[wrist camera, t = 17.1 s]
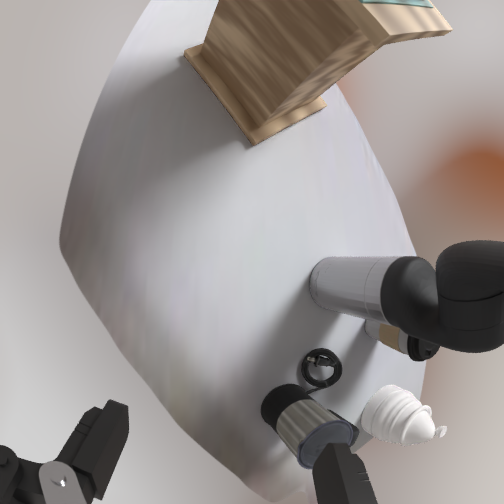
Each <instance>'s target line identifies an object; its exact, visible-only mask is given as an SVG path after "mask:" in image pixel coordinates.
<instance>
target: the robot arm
mask: <svg viewBox="0 0 504 504" xmlns="http://www.w3.org/2000/svg"><path fill="white" fill-rule="evenodd" d="M310 291H311V295H312V297H313V299H314V301H315V302H316V303H317V304H318V305H319V306H321V307H323V308H326V309H329V310H333V311H336V312H340V313H344V314H348V315H351V316H355V317H359V318H363V319H366V320H370V321H374V322H378V323H382V324H386V325H390V326H394V327H398V328H400V329H401V330H402V331H403V332H404V333H405V334H407V335H409V336H412V337H415V338H418V339H421V340H424V341H427V342H430V343H433V344H436V345H439V346H442V347H445V348H448V349H452V350H455V351H460V352H467V353H481V352H486V351H491V350H493V349H496V348H498V347H499V346H501V345H502V344H504V242H500V241H486V240H484V241H483V240H476V241H466V242H461V243H457V244H454V245H452V246H449V247H448V248H446V249H445V250H444V251H443V252H442V253H441V254H440V255H439V257H438V259H437V262H436V272H435V270H434V269H433V267H432V266H431V264H430V263H429V262H427V261H426V260H425V259H423V258H420V257H415V256H403V257H328V258H325V259H323V260H321V261H320V262H319V263H318V264H317V265H316V266H315V268H314V270H313V271H312V274H311V277H310ZM128 433H129V416H128V406H127V405H124V404H122V403H119V402H116V401H113V400H108V402H107V403H106V405H105V407H104V408H103V410H102V409H100V408H97V407H93V408H92V409H90V410H89V411H87V412H85V413H84V415H83V417H82V418H81V420H80V421H79V424H77V426H76V428H75V430H74V431H73V432H72V434H71V436H70V437H69V439H68V440H67V442H66V444H65V445H64V447H63V449H62V450H61V452H60V454H59V455H58V457H57V458H56V459H55V460H53V461H50V462H47V463H44V464H41V463H35V462H31V461H28V460H24V459H21V458H18V457H17V456H16V454H15V453H14V452H13V451H12V450H11V449H10V448H8V447H6V446H3V445H0V504H91V503H92V501H93V498H97V499H99V500H102V498H103V496H104V493H105V491H106V489H107V486H108V484H109V481H110V479H111V476H112V474H113V471H114V469H115V467H116V464H117V462H118V460H119V457H120V455H121V452H122V450H123V448H124V445H125V443H126V441H127V437H128ZM312 474H313V480H314V485H315V490H316V496H317V501H318V504H378V503H377V500H376V497H375V495H374V491H373V489H372V486H371V483H370V481H369V477H368V474H366V469H365V466H364V463H363V461H362V460H361V459H360V458H359V457H358V456H357V454H351V451H350V448H349V445H348V444H347V443H328V444H327V445H326V446H325V448H324V449H323V451H322V452H321V454H320V455H319V457H318V458H317V459H316V461H315V463H314V465H313V470H312Z"/></svg>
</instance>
